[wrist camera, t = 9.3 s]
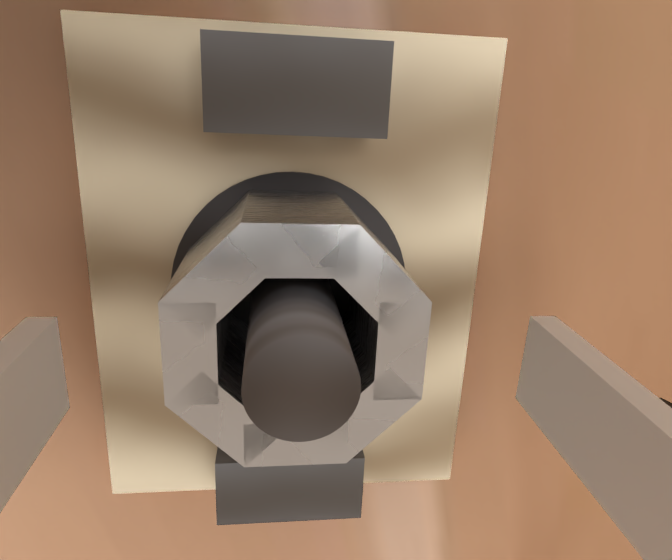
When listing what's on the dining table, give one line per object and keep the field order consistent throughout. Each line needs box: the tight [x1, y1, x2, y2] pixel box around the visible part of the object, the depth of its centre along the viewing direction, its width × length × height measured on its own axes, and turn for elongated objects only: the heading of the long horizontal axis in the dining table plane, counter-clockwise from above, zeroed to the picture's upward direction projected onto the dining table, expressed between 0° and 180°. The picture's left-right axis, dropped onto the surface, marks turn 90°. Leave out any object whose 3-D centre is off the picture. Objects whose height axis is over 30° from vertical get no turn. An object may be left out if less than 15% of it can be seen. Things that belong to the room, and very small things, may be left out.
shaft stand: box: [60, 10, 508, 525], centre depth 19 cm, size 20×16×10 cm
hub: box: [158, 190, 432, 467], centre depth 19 cm, size 8×8×6 cm
